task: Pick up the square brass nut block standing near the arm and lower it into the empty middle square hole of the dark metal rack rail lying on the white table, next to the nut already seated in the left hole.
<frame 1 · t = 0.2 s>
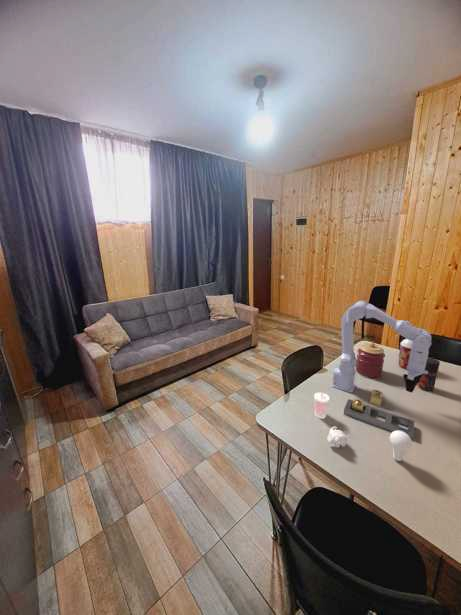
hand: (411, 387, 105), 10 cm above the table, fingers open, 7 cm apart
canister: (368, 372, 135), on the table
beverage cup: (320, 415, 105), on the table
rack rail: (377, 419, 101), on the table
smoothie: (405, 367, 139), on the table
lightbulb: (396, 459, 84), on the table
brass nut: (375, 402, 111), on the table
deodorant: (425, 388, 120), on the table
seated nut: (357, 412, 106), resting in rack rail
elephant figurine: (337, 444, 90), on the table
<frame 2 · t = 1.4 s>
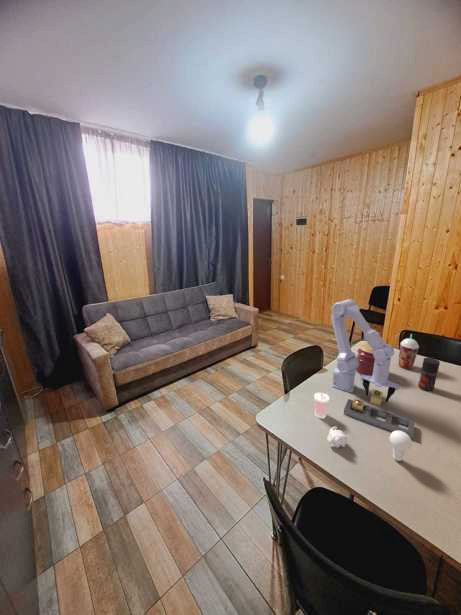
hand: (376, 398, 111), 2 cm above the table, fingers open, 7 cm apart
nothing on the table moved.
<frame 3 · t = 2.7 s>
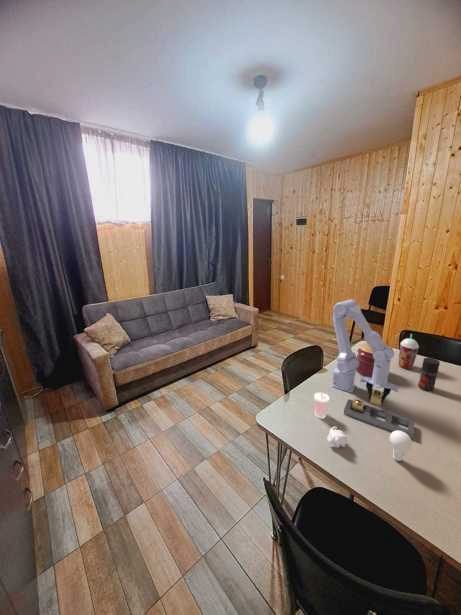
hand: (376, 399, 111), 1 cm above the table, fingers closed on brass nut, 4 cm apart
brass nut: (375, 402, 111), on the table, touching gripper
everything else where it was.
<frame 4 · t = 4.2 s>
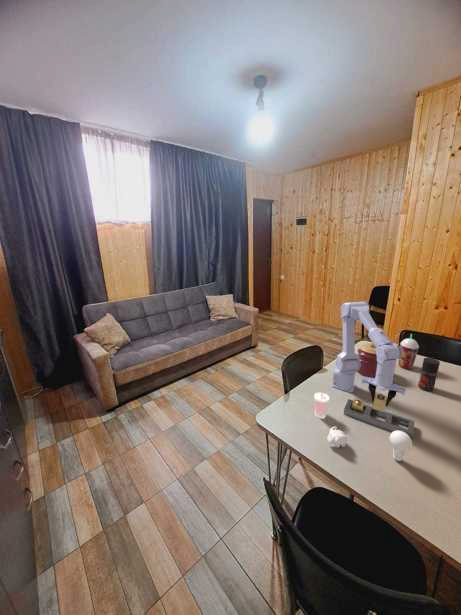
hand: (379, 402, 99), 8 cm above the table, fingers closed on brass nut, 4 cm apart
brass nut: (379, 407, 100), point 6 cm above the table, touching gripper
everything else where it was.
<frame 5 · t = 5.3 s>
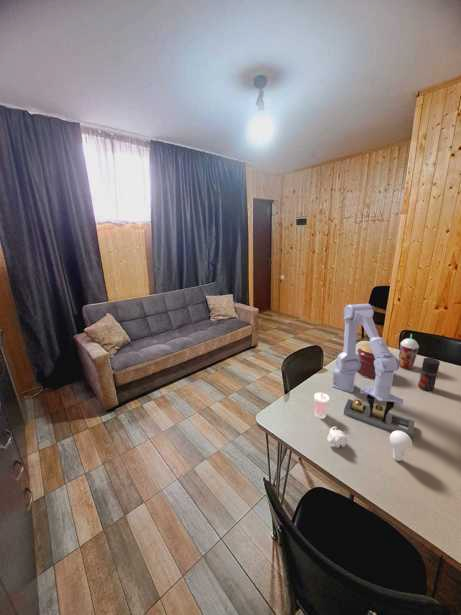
hand: (378, 413, 100), 3 cm above the table, fingers closed on brass nut, 4 cm apart
brass nut: (377, 417, 101), point 1 cm above the table, touching gripper
everything else where it was.
when the fingers open (3 cm above the table, at t = 5.9 s): brass nut stays where it is, resting in rack rail.
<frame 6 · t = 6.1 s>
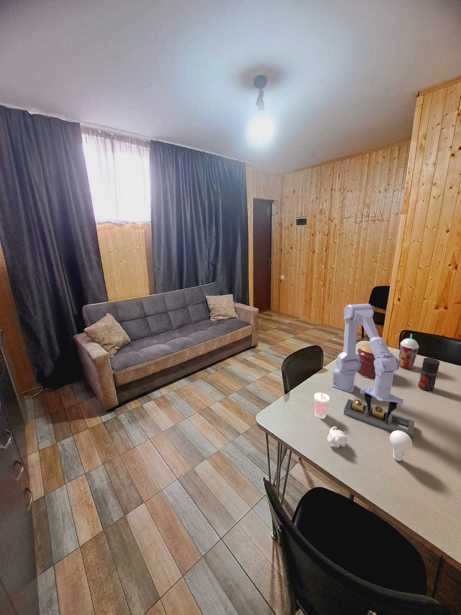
hand: (378, 413, 100), 3 cm above the table, fingers open, 6 cm apart
brass nut: (377, 419, 101), resting in rack rail
everything else where it was.
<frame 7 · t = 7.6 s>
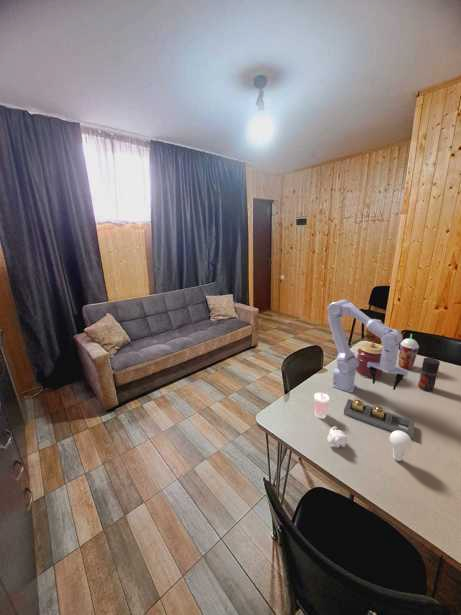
hand: (383, 385, 108), 9 cm above the table, fingers open, 7 cm apart
nothing on the table moved.
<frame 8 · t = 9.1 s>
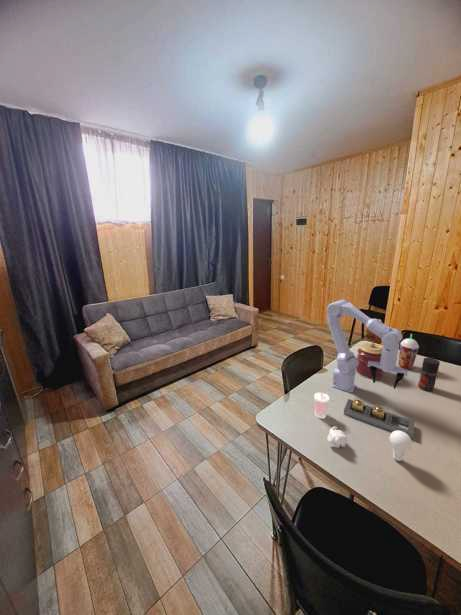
hand: (384, 384, 108), 9 cm above the table, fingers open, 7 cm apart
nothing on the table moved.
at the end: brass nut 0.4 cm off-centre on the rack rail, point 0.0 cm above the rack rail's base; brass nut tilted 0°; the gripper is holding nothing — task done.
